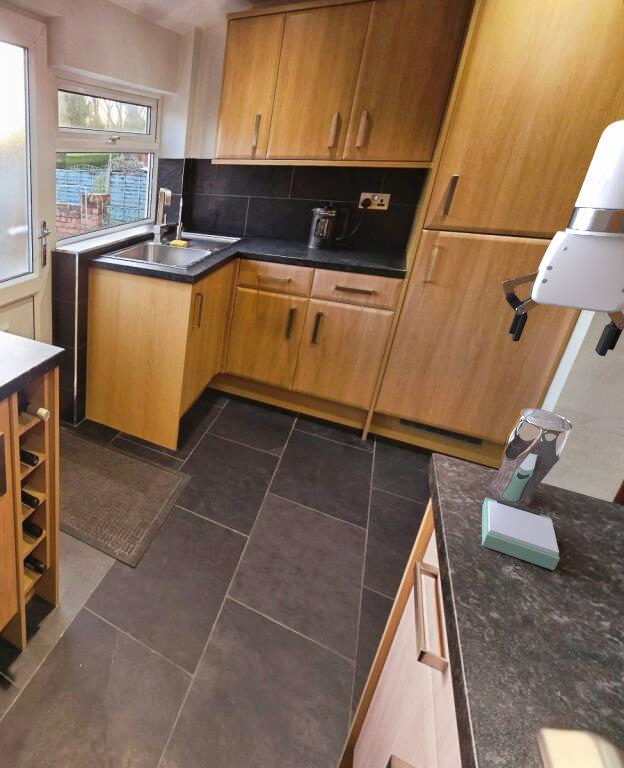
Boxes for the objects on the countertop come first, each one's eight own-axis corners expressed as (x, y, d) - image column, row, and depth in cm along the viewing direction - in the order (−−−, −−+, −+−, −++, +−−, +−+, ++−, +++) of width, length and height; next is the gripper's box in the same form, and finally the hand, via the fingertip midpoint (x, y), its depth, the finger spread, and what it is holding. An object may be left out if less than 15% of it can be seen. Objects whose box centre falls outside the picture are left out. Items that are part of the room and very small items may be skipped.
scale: (481, 507, 78) (487, 494, 77) (545, 527, 74) (552, 513, 73) (482, 545, 70) (488, 531, 69) (554, 571, 66) (561, 555, 65)
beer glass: (544, 505, 79) (588, 426, 72) (516, 516, 77) (558, 435, 70) (500, 479, 85) (537, 404, 78) (472, 488, 83) (507, 411, 76)
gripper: (690, 227, 64) (631, 353, 71) (523, 217, 73) (484, 329, 80) (709, 231, 58) (643, 367, 65) (525, 219, 67) (484, 340, 74)
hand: (555, 346), depth 72 cm, fingers open, 9 cm apart
